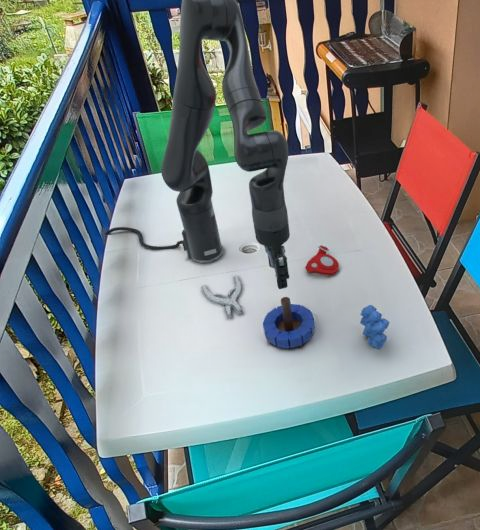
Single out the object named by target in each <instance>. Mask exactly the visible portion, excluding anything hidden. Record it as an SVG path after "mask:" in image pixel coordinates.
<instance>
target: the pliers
mask: <svg viewBox="0 0 480 530" xmlns="http://www.w3.org/2000/svg"><path fill="white" fill-rule="evenodd" d="M234 280H235V286H234V287H233V288H231V289H230V291H229V292H228V297H231V298H227V299H226V297H225V295H224V294H221V293H212V292H210V290H208V288H207V287H206V285H205V284H204V285H202V289H203V293H204V295H205V296H206V297H207V299H209V300H210V301H211V302H213V303H215V304H219V305H222V306H224V307H225V311H226V314H227V316H228V318H229V319H231V318H232V310H234V311H235V312H236V313H237V314H238V315H241V314H242V313H243V312H242V309H241V306H240V305H239V303H238V302H237V299H238V298H239V296H240V295H241V291H242V284H241V280H240V278H239V277H238V276H237V275H234Z"/></svg>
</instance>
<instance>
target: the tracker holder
mask: <svg viewBox="0 0 480 530" xmlns="http://www.w3.org/2000/svg"><path fill="white" fill-rule="evenodd" d="M317 248H318V251H317V252H316V254H315V255H314V256H312V257H311V258H310V259H309V260H308V261H307V262H306V266H304V268H305V271H306V273H307V274H310V273H312V274H319V275H322V276H334V275H335V274H337V273H338V272H339V268H340V264H339V261H338V260H337V259H336V258H335V257H334V256H333V255H331V254H329V253H327V252H329V251H330V250H329V249H328V248H329V247H327V246H326V245H322V244H321V245H318V246H317Z"/></svg>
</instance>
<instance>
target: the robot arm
mask: <svg viewBox="0 0 480 530" xmlns="http://www.w3.org/2000/svg"><path fill="white" fill-rule="evenodd" d="M180 6H181V7H180V17H179V18H180V19H179V45H178V47H179V48H178V61H177V69H176V78H175V81H174V82H175V83H174V89H173V95H172V106H171V116H170V121H169V123H170V124H169V131H168V137H167V143H166V147H165V150H164V154H163V158H162V161H161V165H160V166H161V167H160V168H161V169H160V172H161V178H162V179H163V182H164V183H165V185H166V186H167V187H168V188H169V189H170V190H172V191H174V192H177V193H178V194H177V197H176V199H175V200H176V206H177V210H178V213H179V217H180V220H181V225H182V227H183V230H181V235H182V240H179V241H176V243H175V244H173V245H167V246H156V245H155V246H154V245H150V244H146V243H145V242H144V239H143V235H142V232H141V231H140V230H138V229H136V228H133V227H127V226H118V227H112V228H110V229H108V230H106V232H105V233H104V235H106V236H108V235H110V234H111V233H113V232H116V231H127V232H133V233H136V234H137V235H138V242H139V244H140V245H141V246H142V248H143V247H144V248H145V249H148V250H155V251H161V250H163V251H164V250H171V249H177V248H179V247H180V245H182V248H183V251H185V252H186V253H187V257H188V259H190V260H192V261H194V262H195V263H197V264H210V263H212V262H216V261H218V260H219V259H220V258H221V257H222V256H223V254H224V248H223V245H222V241H221V236H220V230H219V227H218V222H217V219H216V218H217V217H216V214H215V213H216V212H215V209H214V205H213V199H212V197H213V193H214V191H213V190H214V189H213V184H212V178H211V177H212V176H211V172H210V167H209V164H208V161H207V159H206V157H205V156H204V154H202V152H201V151H199V150H198V148H199V146H200V143H202V140H203V138H204V136H205V135H206V133H207V131H208V129H209V127H210V125H211V123H212V120H213V117H214V112H215V107H216V103H217V91H216V88H215V85H214V83H213V80H212V79H211V77H210V75H209V73H208V71H207V70H206V69H207V68H205V66H204V63H203V60H202V57H201V45H202V41H203V40H208V41H217V42H225V43H226V45H227V48H228V50H229V58H228V62H227V65H226V68H225V71H224V74H223V77H222V83H221V90H222V95H223V99H224V102H225V105H226V107H227V111H228V113H229V116H230V119H231V123H232V124H231V125H232V130H233V153H234V154H233V155H234V159H235V163H236V164H237V166H238V167H239V168H240V169H241V170H243V171H244V172H248V173H252V172H257V171H261V170H263V171H262V172H260V173H258V174H255V175H254V176H253V177H251V178H250V180H249V182H248V189H249V191H248V192H249V196H250V203H251V216H252V217H251V218H252V222H253V228H254V229H253V230H254V236H255V239H256V242H257V243H258V244H260V245H262V246H263V247H264V251H265V253H266V254H267V259H268V265H269V267H270V268H271V269H273V270H274V274H275V276H274V277H275V278H276V285H277V289H279V290H283V289H287V288H288V287H289V286H288V279H290V274H289V267H288V257H287V256H286V254H285V253H286V249H285V245H284V244H285V243H286V242H288V240H289V239H290V236H291V234H290V233H291V232H290V226H289V214H288V207H287V204H286V198H285V188H284V182H285V175H286V170H287V166H288V160H289V153H290V152H289V149H290V148H289V143H288V141H287V138H286V137H285V135H284V134H283V133H282V132H281V131H279V130H275V129H271V130H266V131H261V132H260V131H259V132H255V133H249V132H251V131H253V130H255V129H257V128H259V127H262V126H263V125H264V124H265V122H266V121H267V118H268V117H267V116H268V114H267V109H266V107H265V105H264V102H263V99H262V96H261V94H260V93H261V92H260V91H259V87H258V85H257V83H256V79H255V76H254V70H253V66H252V62H251V55H250V51H249V45H248V40H247V36H246V31H245V25H244V21H243V15H242V12H241V9H240V6H239V3H238V1H237V0H181V5H180Z"/></svg>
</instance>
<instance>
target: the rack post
mask: <svg viewBox="0 0 480 530" xmlns="http://www.w3.org/2000/svg"><path fill="white" fill-rule="evenodd" d="M291 304H292V303H291V299H290V297H288V296H283V297H282V298H280V306H282V314H283V321H282V322H281V323H279V324H278V325H277V329H279V330H281V331H286V332H290V331H293V330H296V329H298V328H299V327H300V326H301V325H302V323H301V322H299V321H298V320H294V319H292V311H291ZM270 344H272V343H270ZM272 345H273V344H272ZM303 345H304V344H303V343H302V345H299V346H297V347H303Z"/></svg>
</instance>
